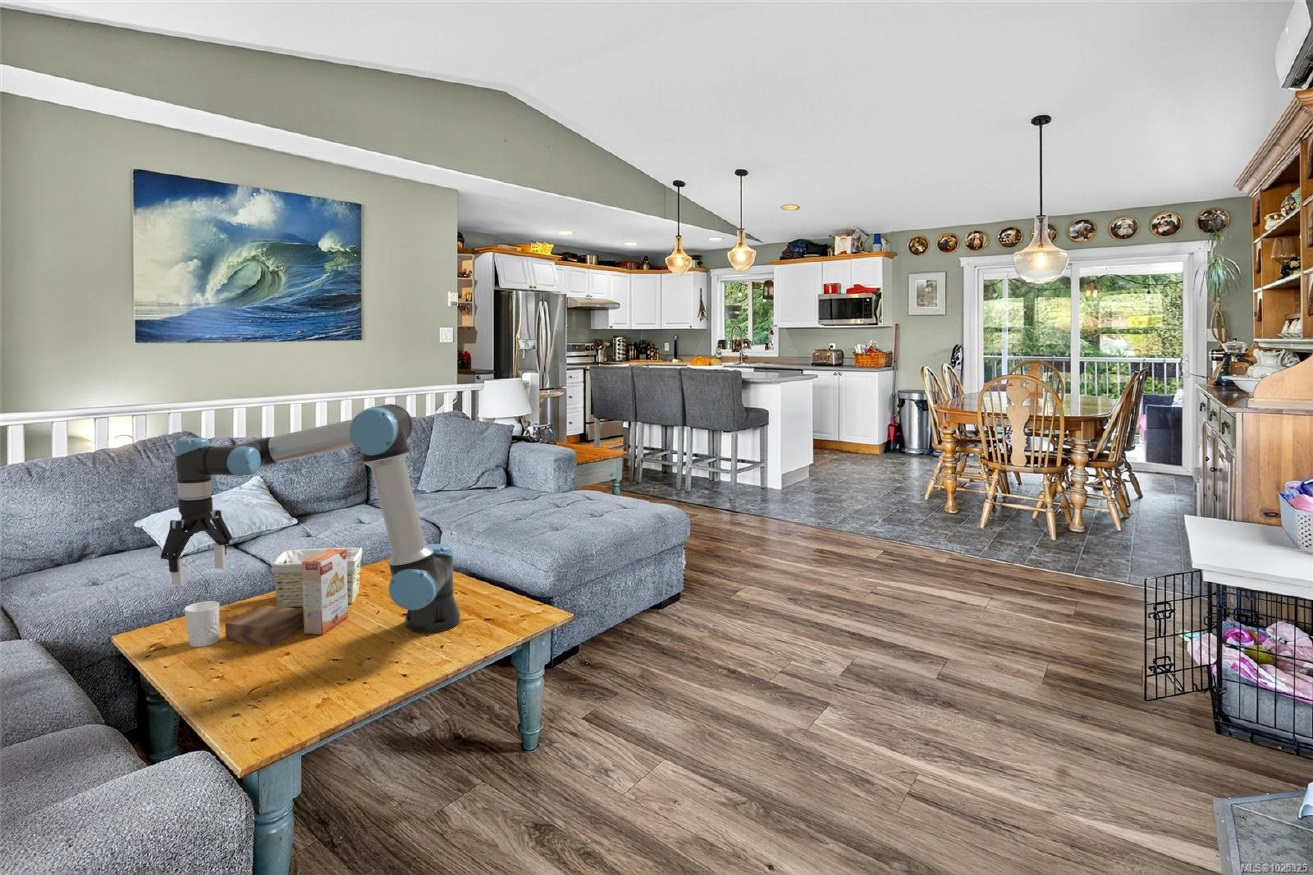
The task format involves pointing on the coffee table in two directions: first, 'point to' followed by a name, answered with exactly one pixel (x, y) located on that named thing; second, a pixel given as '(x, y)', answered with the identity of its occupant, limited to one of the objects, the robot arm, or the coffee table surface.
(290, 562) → the storage basket
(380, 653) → the coffee table surface
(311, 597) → the cracker box
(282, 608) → the walnut block
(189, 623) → the white cup
